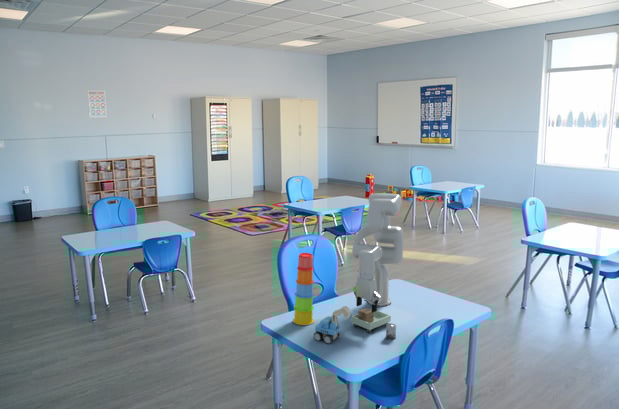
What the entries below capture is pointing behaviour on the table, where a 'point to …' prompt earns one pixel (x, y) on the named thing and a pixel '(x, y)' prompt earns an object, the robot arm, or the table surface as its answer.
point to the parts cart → (378, 320)
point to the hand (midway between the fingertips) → (366, 308)
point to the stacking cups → (304, 290)
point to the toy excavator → (330, 326)
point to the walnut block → (366, 315)
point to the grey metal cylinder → (391, 331)
